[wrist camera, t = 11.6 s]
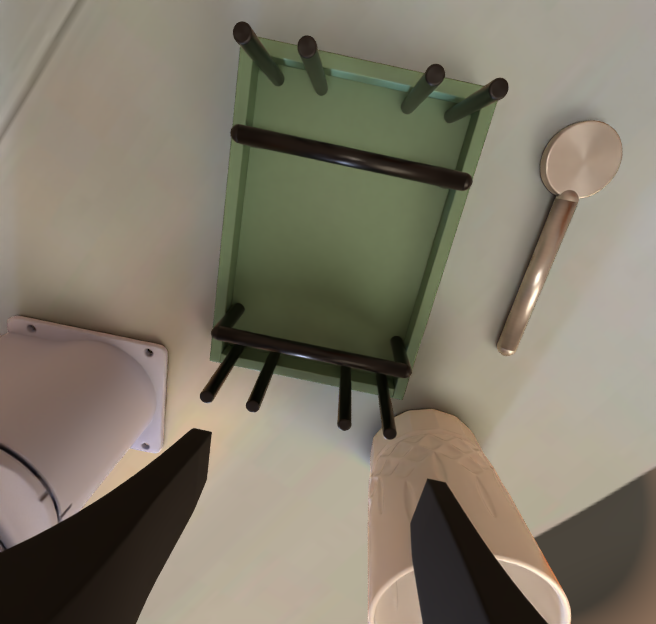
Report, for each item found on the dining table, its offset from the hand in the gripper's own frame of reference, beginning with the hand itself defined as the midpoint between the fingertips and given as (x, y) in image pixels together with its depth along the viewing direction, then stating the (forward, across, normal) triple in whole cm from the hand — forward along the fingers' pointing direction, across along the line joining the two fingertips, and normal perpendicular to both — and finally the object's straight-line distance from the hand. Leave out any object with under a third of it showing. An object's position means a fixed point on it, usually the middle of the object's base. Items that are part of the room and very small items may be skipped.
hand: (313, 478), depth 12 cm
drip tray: (+10, +1, -6) cm, 12 cm away
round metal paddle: (+11, -9, -8) cm, 16 cm away
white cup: (+11, -7, +6) cm, 14 cm away
